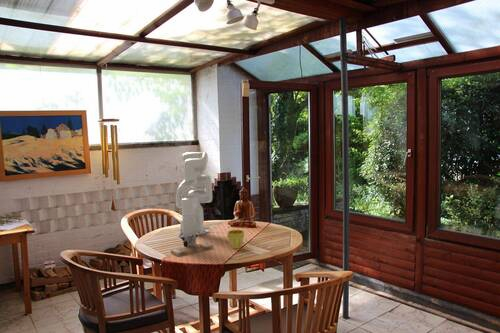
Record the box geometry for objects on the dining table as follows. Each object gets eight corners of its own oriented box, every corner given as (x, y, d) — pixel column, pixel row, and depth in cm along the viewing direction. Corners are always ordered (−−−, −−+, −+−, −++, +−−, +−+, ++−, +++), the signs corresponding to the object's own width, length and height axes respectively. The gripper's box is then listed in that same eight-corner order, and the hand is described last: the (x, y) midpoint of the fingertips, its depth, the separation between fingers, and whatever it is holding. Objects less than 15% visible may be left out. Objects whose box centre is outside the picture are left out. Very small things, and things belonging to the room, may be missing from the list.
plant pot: (238, 250, 247) (238, 234, 247) (224, 248, 253) (224, 232, 252) (247, 245, 256) (247, 230, 255) (234, 244, 262) (233, 229, 261)
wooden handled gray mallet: (191, 246, 260) (191, 235, 259) (202, 250, 249) (201, 239, 249) (184, 248, 257) (184, 237, 256) (194, 252, 246) (194, 240, 246)
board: (205, 245, 260) (205, 242, 260) (213, 248, 253) (212, 245, 253) (171, 253, 246) (171, 249, 246) (177, 256, 239) (177, 252, 239)
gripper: (197, 214, 263) (198, 242, 264) (173, 218, 253) (174, 247, 254) (203, 216, 257) (204, 244, 258) (178, 220, 247) (180, 250, 248)
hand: (189, 245), depth 256 cm, fingers closed on wooden handled gray mallet, 5 cm apart
